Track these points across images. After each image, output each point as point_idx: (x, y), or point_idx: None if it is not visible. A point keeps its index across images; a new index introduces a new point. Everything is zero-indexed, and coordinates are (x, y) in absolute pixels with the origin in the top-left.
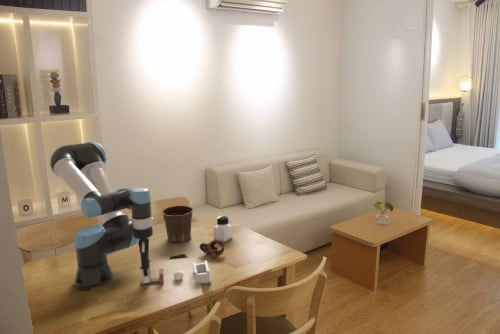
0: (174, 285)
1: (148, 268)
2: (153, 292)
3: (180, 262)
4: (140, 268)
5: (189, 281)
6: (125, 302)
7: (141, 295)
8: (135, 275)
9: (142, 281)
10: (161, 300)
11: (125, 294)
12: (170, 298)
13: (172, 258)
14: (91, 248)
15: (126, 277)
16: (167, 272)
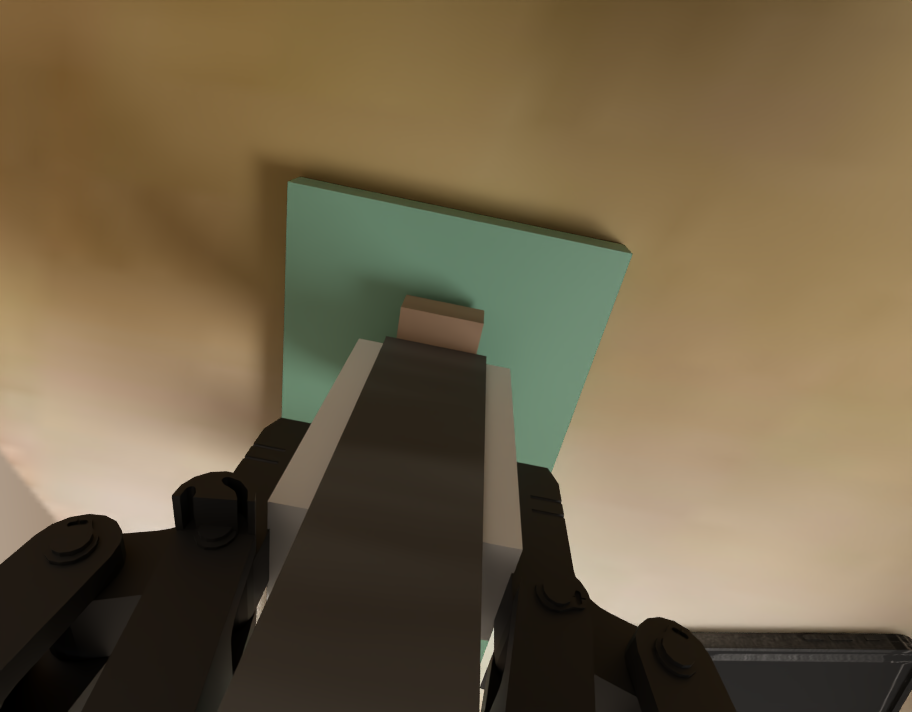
0: None
1: (271, 583)
2: (263, 384)
3: None
4: (176, 496)
5: None
6: (80, 26)
7: (227, 259)
8: (796, 270)
9: (427, 338)
10: (94, 417)
11: (304, 53)
12: (122, 483)
13: (872, 661)
14: None
15: (833, 134)
16: (624, 564)
